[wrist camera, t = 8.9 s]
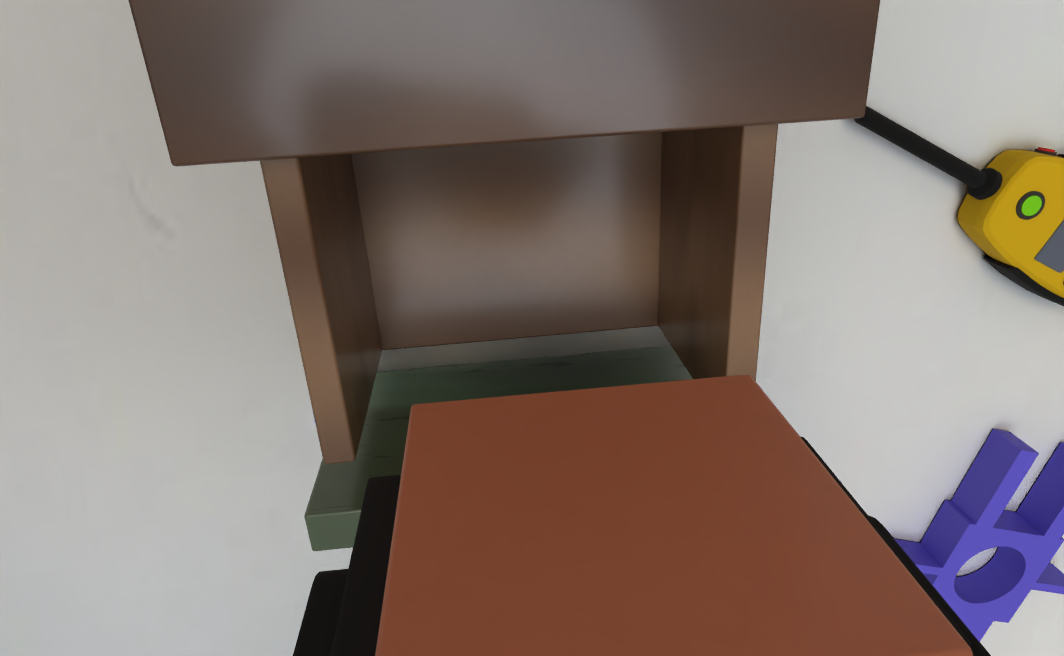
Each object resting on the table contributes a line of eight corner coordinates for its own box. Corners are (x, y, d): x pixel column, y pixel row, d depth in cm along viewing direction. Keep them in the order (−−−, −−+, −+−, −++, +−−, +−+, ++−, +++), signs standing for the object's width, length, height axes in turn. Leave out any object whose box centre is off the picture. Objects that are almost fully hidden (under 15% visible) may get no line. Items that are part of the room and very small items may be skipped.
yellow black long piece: (1140, 347, 26) (828, 184, 22) (1097, 327, 28) (802, 172, 24) (1237, 234, 25) (920, 38, 21) (1185, 220, 26) (884, 37, 23)
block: (446, 653, 12) (434, 1041, 7) (410, 402, 10) (362, 724, 5) (729, 622, 12) (885, 976, 8) (749, 372, 10) (979, 653, 6)
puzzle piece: (1126, 455, 31) (1160, 476, 29) (993, 650, 35) (1016, 678, 34) (937, 417, 29) (963, 439, 28) (822, 628, 33) (839, 656, 32)
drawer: (683, 468, 28) (760, 621, 21) (371, 500, 27) (339, 671, 20) (705, -33, 20) (835, -63, 13) (278, -9, 20) (175, -28, 13)
